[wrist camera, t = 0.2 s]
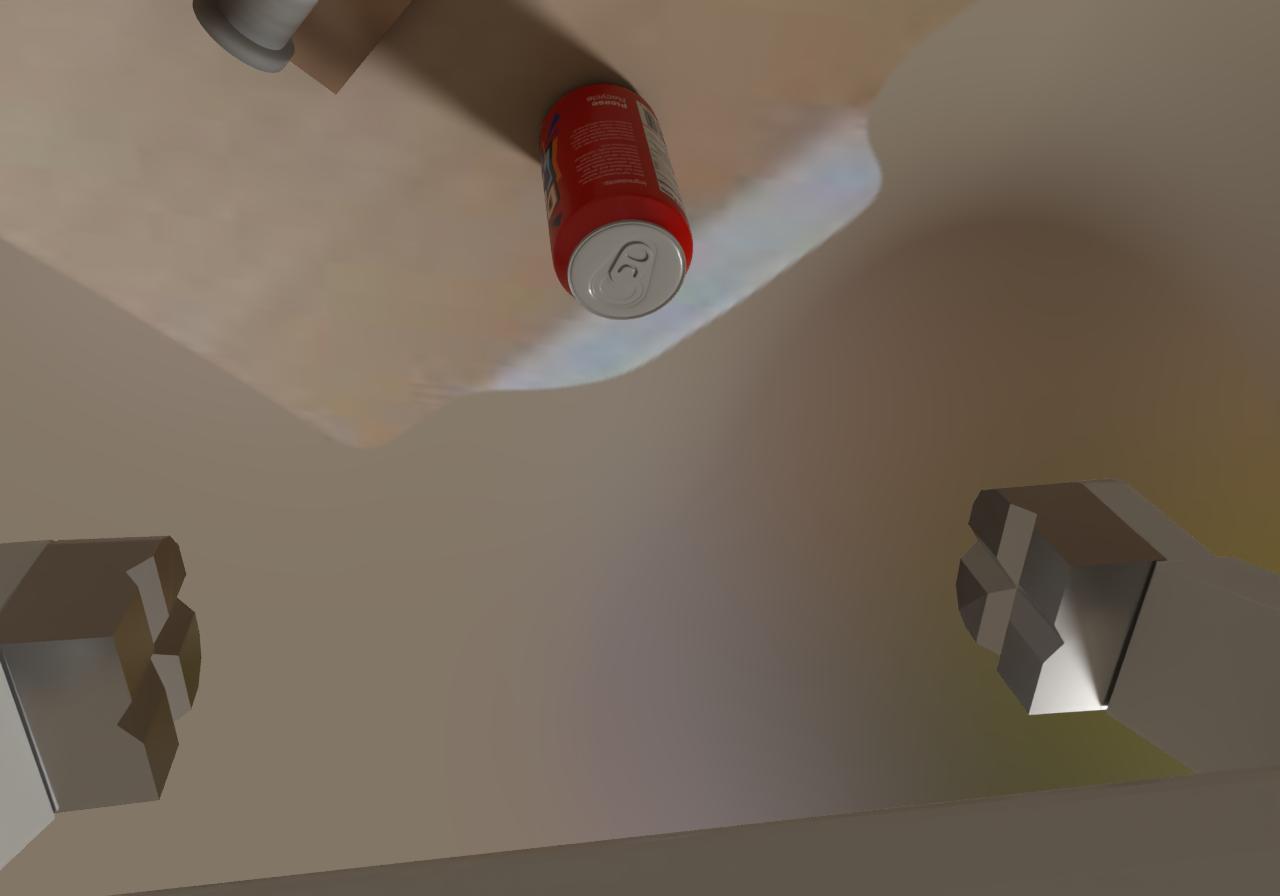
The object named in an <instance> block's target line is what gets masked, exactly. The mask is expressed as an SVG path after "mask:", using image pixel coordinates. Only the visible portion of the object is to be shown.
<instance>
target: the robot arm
mask: <svg viewBox="0 0 1280 896" xmlns="http://www.w3.org/2000/svg"><path fill="white" fill-rule="evenodd" d="M968 524H969V526H970V528H971V530H972V531H973V533H974V535H975V537H976V538H977V542H976V543H975V544H974V545H973V546H972V547H971V548H970V549H969V550H968V551H967V552H966V553H965V554H964V556H963V557H962V558H961V559H960V564H959V569H958V575H957V580H956V592H957V600H958V608H959V612H960V614H961V617H962V620H963V622H964V625H965V627H966V629H967V630H968V631H969V633H970V634H971V636H972V637H973V639H974V640H975V642H976V643H978V644H980V645H982V646H983V647H985V648H987V649H989V650H991V651H993V652H994V653H996V654H998V655H1000V658H999V662H998V667H997V672H998V673H999V675H1000V676H1001V678H1002V679H1003V680H1004V682H1005V683H1006V684H1007V686H1008V687H1009V688H1010V690H1011V691H1012V693H1013V694H1014V695H1015V697H1016V698H1017V699H1018V701H1019V702H1020V703H1021V705H1022V706H1023V707H1024V709H1025V710H1026V712H1027V713H1028V714H1029V715H1030V714H1046V713H1060V712H1073V711H1089V710H1104V709H1107V711H1106V713H1107V714H1108V715H1110V716H1111V717H1113V718H1114V719H1116V720H1117V721H1119V722H1120V723H1122V724H1123V725H1125V726H1126V727H1128V728H1129V729H1131V730H1132V731H1134V732H1136V733H1137V734H1139V735H1140V736H1142V737H1143V738H1145V739H1146V740H1148V741H1149V742H1151V743H1152V744H1154V745H1155V746H1157V747H1158V748H1160V749H1161V750H1163V751H1164V752H1166V753H1167V754H1169V755H1170V756H1172V757H1174V758H1175V759H1177V760H1178V761H1180V762H1181V763H1183V764H1184V765H1186V766H1187V767H1189V768H1190V769H1192V770H1193V771H1195V772H1196V773H1198V774H1192V775H1183V776H1174V777H1165V778H1156V779H1147V780H1138V781H1130V782H1121V783H1112V784H1103V785H1094V786H1084V787H1076V788H1067V789H1058V790H1049V791H1040V792H1031V793H1022V794H1014V795H1004V796H995V797H986V798H978V799H968V800H959V801H950V802H943V803H942V802H941V803H932V804H924V805H915V806H905V807H896V808H888V809H879V810H869V811H861V812H852V813H844V814H834V815H825V816H817V817H808V818H799V819H790V820H781V821H774V822H764V823H756V824H746V825H737V826H728V827H719V828H711V829H702V830H692V831H683V832H675V833H666V834H657V835H647V836H640V837H639V836H638V837H629V838H621V839H612V840H603V841H594V842H585V843H576V844H567V845H558V846H549V847H540V848H531V849H522V850H513V851H504V852H495V853H487V854H477V855H469V856H460V857H450V858H441V859H433V860H424V861H414V862H406V863H396V864H388V865H379V866H370V867H361V868H353V869H343V870H334V871H326V872H316V873H307V874H298V875H290V876H280V877H271V878H262V879H253V880H244V881H235V882H227V883H218V884H209V885H201V886H200V885H199V886H190V887H181V888H172V889H164V890H155V891H146V892H137V893H128V894H119V895H110V896H1280V574H1277V573H1274V572H1272V571H1269V570H1266V569H1264V568H1261V567H1258V566H1256V565H1253V564H1250V563H1247V562H1245V561H1242V560H1239V559H1237V558H1234V557H1231V556H1227V557H1216V556H1215V555H1214V554H1213V553H1212V552H1210V551H1209V550H1208V549H1207V548H1206V547H1204V546H1203V545H1202V544H1200V543H1199V542H1198V541H1197V540H1196V539H1194V538H1193V537H1192V536H1191V535H1190V534H1188V533H1187V532H1186V531H1185V530H1184V529H1182V528H1181V527H1180V526H1179V525H1177V524H1176V523H1175V522H1174V521H1172V520H1171V519H1170V518H1169V517H1168V516H1167V515H1165V514H1164V513H1163V512H1162V511H1160V510H1159V509H1158V508H1157V507H1155V506H1154V505H1153V504H1152V503H1151V502H1149V501H1148V500H1147V499H1146V498H1145V497H1143V496H1142V495H1141V494H1140V493H1139V492H1137V491H1136V490H1135V489H1133V488H1132V487H1131V486H1130V485H1129V484H1128V483H1126V482H1124V481H1120V480H1117V479H1112V478H1108V479H1098V480H1088V481H1078V482H1069V483H1057V484H1046V485H1034V486H1022V487H1011V488H999V489H989V490H981V491H980V493H979V495H978V497H977V498H976V500H975V501H974V503H973V506H972V510H971V515H970V519H969V523H968ZM185 576H186V571H185V568H184V564H183V560H182V556H181V552H180V549H179V545H178V544H177V543H176V542H175V541H174V540H173V538H172V537H171V536H153V537H152V536H151V537H127V538H100V539H75V540H58V541H53V540H42V541H28V542H14V543H2V544H0V869H2V868H3V867H4V866H5V865H6V864H7V863H8V862H9V861H10V860H11V859H12V858H13V857H14V856H15V855H17V854H18V853H19V852H20V851H21V850H22V849H23V848H24V847H25V846H26V845H27V844H28V843H29V842H30V841H31V840H32V839H34V837H36V836H37V835H38V834H39V833H40V832H41V831H42V830H43V829H44V828H45V827H46V826H47V825H48V824H49V823H50V822H52V821H53V820H54V819H55V815H54V813H58V812H66V811H75V810H83V809H90V808H99V807H106V806H115V805H122V804H131V803H139V802H147V801H155V800H159V799H160V796H161V793H162V791H163V788H164V785H165V782H166V779H167V776H168V774H169V771H170V768H171V765H172V762H173V760H174V757H175V754H176V751H177V748H178V746H179V742H178V739H177V735H176V731H175V726H174V723H175V722H176V721H177V720H178V719H180V718H181V717H182V716H183V715H184V714H186V713H187V712H188V711H190V710H191V708H192V705H193V702H194V699H195V696H196V693H197V689H198V684H199V674H200V665H201V647H200V634H199V629H198V624H197V619H196V615H195V612H194V611H193V610H191V609H190V608H189V607H188V606H187V605H185V604H184V603H183V602H182V601H181V600H179V599H178V598H177V595H178V593H179V591H180V588H181V586H182V583H183V581H184V578H185Z"/></svg>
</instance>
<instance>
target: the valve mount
mask: <svg viewBox="0 0 1280 896" xmlns="http://www.w3.org/2000/svg"><path fill="white" fill-rule="evenodd" d="M412 1H413V0H193V9H194V12H195V15H196V17H197V19H198V20H199V22H200V24H201V25H202V26H203V28H204V29H205V30H206V31H207V33H208V34H209V35H210V36H211V37H212V38H213V39H214V40H215V41H216V42H217V43H218V44H219V45H220V46H221V47H223V48H224V49H225V50H226V51H227V52H229V53H230V54H231V55H233V56H234V57H236V58H237V59H239V60H240V61H242V62H244V63H245V64H247V65H249V66H251V67H254V68H256V69H258V70H261V71H265V72H271V73H276V72H279V71H281V70H282V69H283V68H284V67H285V65H286V64H287V63H288V61H289V60H290V61H291V62H292V63H294V64H295V65H296V66H298V67H299V68H301V69H302V70H303V71H305V72H306V73H307V74H309V75H310V76H311V77H313V78H314V79H316V80H317V81H318V82H320V83H321V84H322V85H324V86H325V87H326V88H328V89H329V90H331V91H332V92H333V93H335V94H337V93H338V91H339V90H340V89H341V88H342V87H343V85H344V84H345V83H346V82H347V80H348V79H349V78H350V77H351V76H352V74H353V73H354V72H355V71H356V69H357V68H358V67H359V66H360V64H361V63H362V62H363V61H364V60H365V58H366V57H367V56H368V55H369V53H370V52H371V51H372V50H373V49H374V47H375V46H376V45H377V44H378V42H379V41H380V40H381V39H382V37H383V36H384V35H385V34H386V33H387V31H388V30H389V29H390V28H391V26H392V25H393V24H394V23H395V22H396V20H397V19H398V18H399V17H400V15H401V14H402V13H403V12H404V10H405V9H406V8H407V7H408V6H409V4H410V3H411V2H412Z"/></svg>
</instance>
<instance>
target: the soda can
mask: <svg viewBox="0 0 1280 896" xmlns="http://www.w3.org/2000/svg"><path fill="white" fill-rule="evenodd" d="M539 154H540V162H541V170H542V179H543V187H544V195H545V203H546V211H547V219H548V228H549V236H550V244H551V252H552V259H553V265H554V269H555V272H556V275H557V277H558V279H559V281H560V283H561V284H562V286H563V287H564V288H565V290H566V291H567V292H568V293H569V294H570V295H571V296H573V297H574V298H575V299H576V300H577V301H578V302H579V303H580V304H581V305H582V306H583V307H584V308H585V309H587V310H588V311H590V312H592V313H594V314H596V315H598V316H601V317H604V318H609V319H616V320H628V319H635V318H640V317H643V316H646V315H649V314H651V313H653V312H655V311H657V310H659V309H660V308H662V307H663V306H665V305H666V304H667V303H668V302H669V301H671V300H672V298H673V297H674V296H675V295H676V294H677V292H678V291H679V289H680V287H681V285H682V283H683V281H684V278H685V275H686V273H687V271H688V269H689V266H690V263H691V260H692V254H693V240H692V234H691V230H690V226H689V223H688V220H687V216H686V213H685V209H684V206H683V203H682V199H681V196H680V193H679V189H678V186H677V182H676V179H675V176H674V172H673V169H672V166H671V162H670V159H669V155H668V152H667V149H666V145H665V142H664V139H663V135H662V132H661V129H660V126H659V123H658V120H657V118H656V116H655V114H654V112H653V110H652V109H651V107H650V106H649V105H648V103H647V102H646V101H645V100H644V99H643V98H641V97H640V96H639V95H638V94H636V93H635V92H633V91H631V90H629V89H627V88H624V87H622V86H618V85H613V84H591V85H586V86H583V87H580V88H577V89H575V90H573V91H571V92H569V93H567V94H566V95H564V96H563V97H562V98H560V99H559V100H558V101H557V102H556V103H555V104H554V105H553V106H552V107H551V109H550V110H549V112H548V113H547V115H546V117H545V119H544V121H543V123H542V126H541V130H540V136H539Z"/></svg>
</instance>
